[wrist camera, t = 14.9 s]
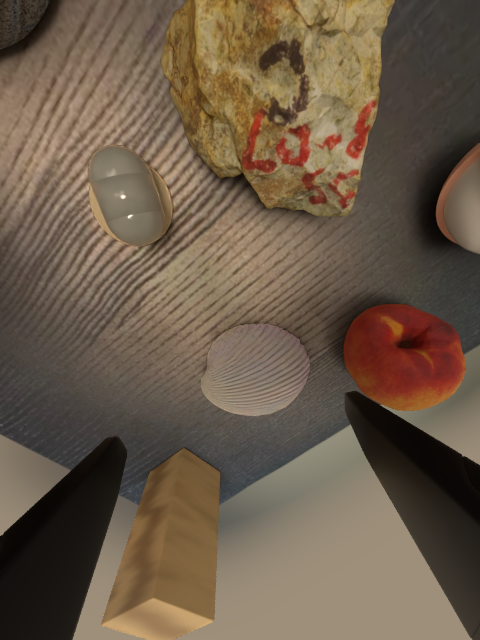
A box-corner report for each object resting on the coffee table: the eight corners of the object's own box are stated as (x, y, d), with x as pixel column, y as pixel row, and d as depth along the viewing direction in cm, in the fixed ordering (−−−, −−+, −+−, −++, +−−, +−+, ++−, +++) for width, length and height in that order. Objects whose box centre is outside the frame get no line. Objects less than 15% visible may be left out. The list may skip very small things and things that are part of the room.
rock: (291, 172, 20) (370, 219, 14) (196, 201, 19) (232, 266, 13) (295, -96, 11) (520, -312, 5) (120, -66, 11) (117, -282, 4)
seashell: (176, 348, 18) (313, 341, 16) (200, 320, 23) (307, 311, 20) (205, 444, 22) (318, 449, 19) (220, 401, 27) (312, 402, 24)
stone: (168, 239, 18) (177, 238, 15) (118, 251, 17) (117, 253, 14) (140, 153, 16) (144, 130, 12) (81, 160, 14) (69, 137, 11)
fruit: (425, 290, 20) (538, 332, 13) (400, 369, 23) (478, 439, 16) (335, 292, 20) (397, 334, 12) (322, 371, 23) (365, 442, 16)
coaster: (112, 252, 18) (109, 253, 17) (77, 168, 16) (73, 167, 15) (182, 236, 18) (182, 236, 17) (157, 148, 15) (155, 146, 15)
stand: (186, 494, 30) (162, 644, 19) (149, 472, 28) (99, 626, 17) (220, 472, 28) (214, 621, 18) (183, 447, 26) (152, 598, 16)
